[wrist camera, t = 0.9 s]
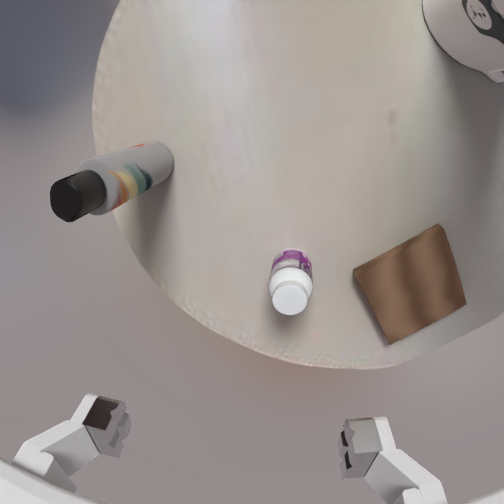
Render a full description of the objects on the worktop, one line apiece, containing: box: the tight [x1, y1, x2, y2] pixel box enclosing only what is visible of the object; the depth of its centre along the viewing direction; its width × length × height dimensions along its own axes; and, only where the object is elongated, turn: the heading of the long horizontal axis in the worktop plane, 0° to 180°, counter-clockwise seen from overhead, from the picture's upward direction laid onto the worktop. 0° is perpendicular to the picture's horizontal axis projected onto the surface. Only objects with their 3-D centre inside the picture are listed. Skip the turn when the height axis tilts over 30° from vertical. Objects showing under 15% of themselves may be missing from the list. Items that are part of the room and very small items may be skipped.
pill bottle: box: [269, 248, 313, 315], centre depth 40 cm, size 5×5×10 cm
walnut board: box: [353, 224, 466, 344], centre depth 43 cm, size 14×14×2 cm
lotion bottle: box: [50, 142, 174, 222], centre depth 32 cm, size 6×6×20 cm
